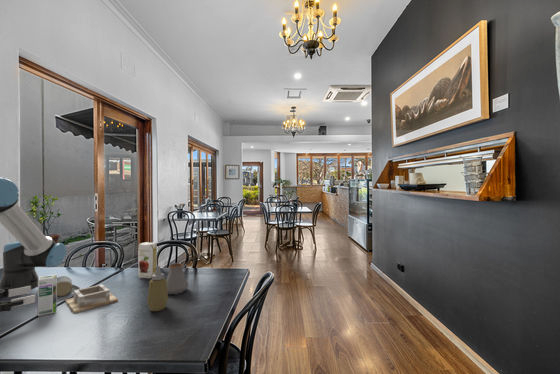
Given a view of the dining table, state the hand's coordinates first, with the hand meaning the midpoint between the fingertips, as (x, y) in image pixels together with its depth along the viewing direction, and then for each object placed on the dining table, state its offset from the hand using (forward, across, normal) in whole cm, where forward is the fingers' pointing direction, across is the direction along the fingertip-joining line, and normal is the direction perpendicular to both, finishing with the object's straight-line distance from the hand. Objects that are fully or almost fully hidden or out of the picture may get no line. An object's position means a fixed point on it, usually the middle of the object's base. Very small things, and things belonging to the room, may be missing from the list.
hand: (33, 293), depth 109 cm
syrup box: (+4, 0, -9) cm, 10 cm away
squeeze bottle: (+37, +28, -9) cm, 47 cm away
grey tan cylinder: (+14, -19, -9) cm, 25 cm away
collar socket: (+20, 0, -9) cm, 21 cm away
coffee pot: (+56, +14, -9) cm, 58 cm away
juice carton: (+50, -17, -9) cm, 54 cm away
